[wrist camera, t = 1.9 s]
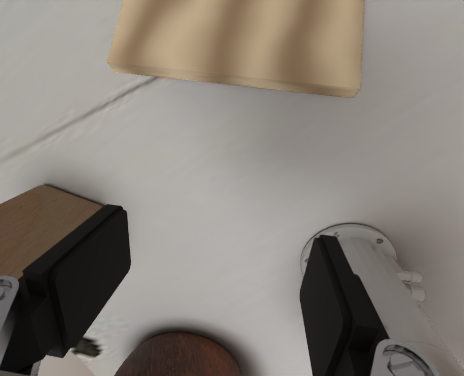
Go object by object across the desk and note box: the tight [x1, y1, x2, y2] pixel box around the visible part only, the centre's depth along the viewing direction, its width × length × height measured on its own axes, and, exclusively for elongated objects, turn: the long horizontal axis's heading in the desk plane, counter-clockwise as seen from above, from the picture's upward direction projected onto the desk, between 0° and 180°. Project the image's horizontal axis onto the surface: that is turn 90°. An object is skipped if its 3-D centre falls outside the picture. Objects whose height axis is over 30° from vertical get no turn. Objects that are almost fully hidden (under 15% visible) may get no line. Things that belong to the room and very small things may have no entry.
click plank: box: [107, 0, 364, 98], centre depth 24 cm, size 22×10×1 cm
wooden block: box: [0, 185, 102, 280], centre depth 30 cm, size 10×10×20 cm
